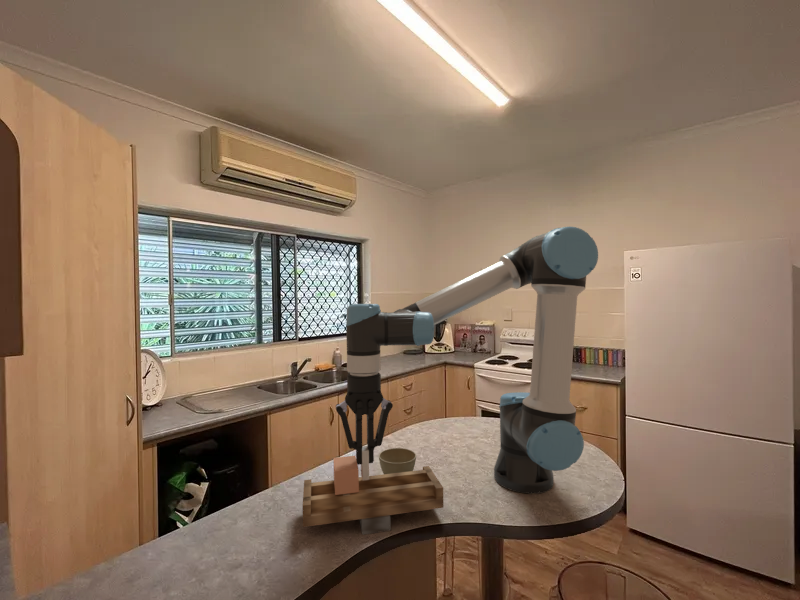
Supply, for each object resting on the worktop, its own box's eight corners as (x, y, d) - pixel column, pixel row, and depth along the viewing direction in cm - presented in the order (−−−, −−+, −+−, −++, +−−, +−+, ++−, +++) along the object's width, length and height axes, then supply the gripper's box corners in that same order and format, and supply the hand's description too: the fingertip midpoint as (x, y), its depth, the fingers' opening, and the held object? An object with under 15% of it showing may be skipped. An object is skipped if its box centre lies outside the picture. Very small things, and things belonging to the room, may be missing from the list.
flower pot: (413, 492, 96) (412, 464, 96) (374, 489, 98) (374, 461, 98) (419, 474, 106) (418, 448, 106) (384, 471, 108) (383, 446, 108)
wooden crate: (428, 494, 95) (428, 464, 95) (444, 522, 83) (444, 488, 83) (304, 510, 88) (304, 478, 88) (303, 543, 77) (302, 506, 77)
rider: (355, 487, 88) (355, 455, 88) (359, 503, 82) (358, 468, 82) (333, 489, 87) (333, 457, 87) (335, 506, 81) (334, 471, 80)
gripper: (389, 368, 90) (390, 467, 90) (333, 370, 87) (335, 473, 88) (395, 374, 83) (396, 482, 83) (335, 377, 80) (336, 489, 80)
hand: (365, 477), depth 85 cm, fingers closed
